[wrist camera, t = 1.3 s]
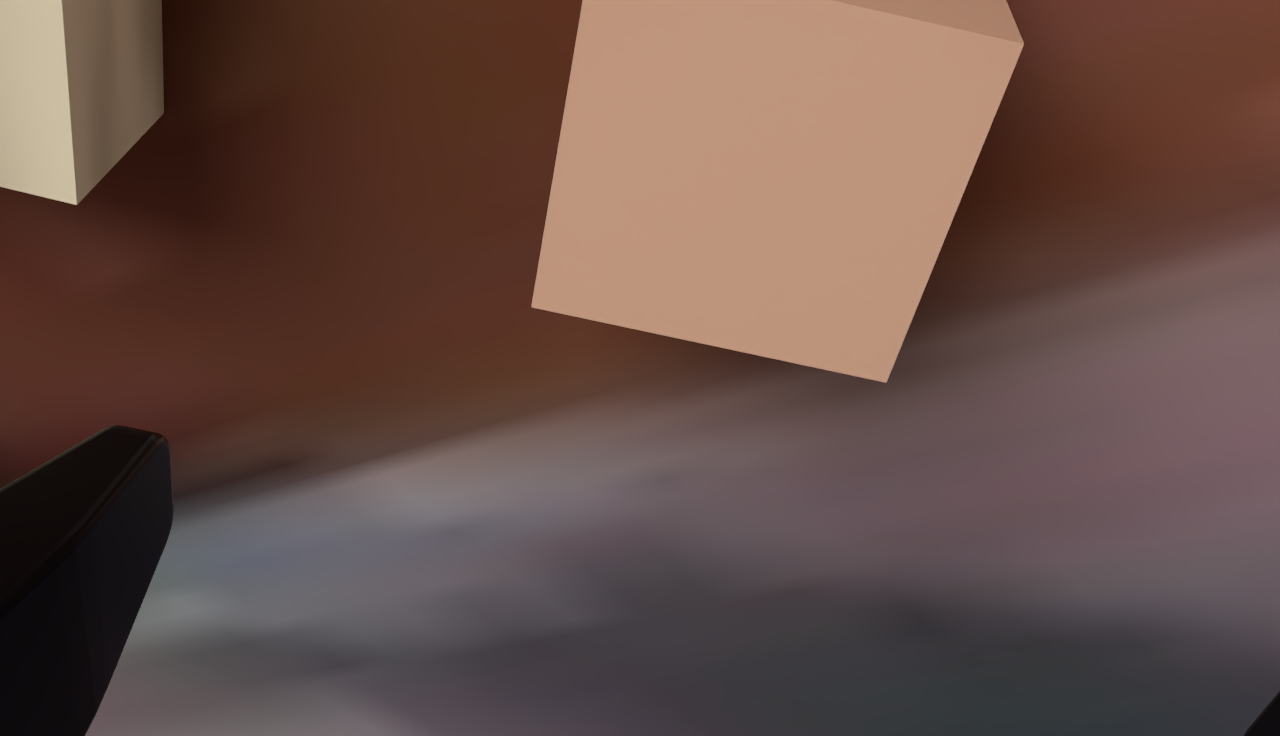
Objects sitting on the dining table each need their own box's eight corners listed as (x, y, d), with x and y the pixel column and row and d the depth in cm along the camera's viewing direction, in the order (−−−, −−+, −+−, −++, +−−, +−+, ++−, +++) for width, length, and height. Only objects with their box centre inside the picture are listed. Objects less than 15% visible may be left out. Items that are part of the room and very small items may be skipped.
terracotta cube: (969, -88, 18) (1024, 43, 14) (866, 205, 21) (886, 383, 17) (635, -165, 17) (591, -55, 14) (579, 142, 20) (531, 307, 17)
